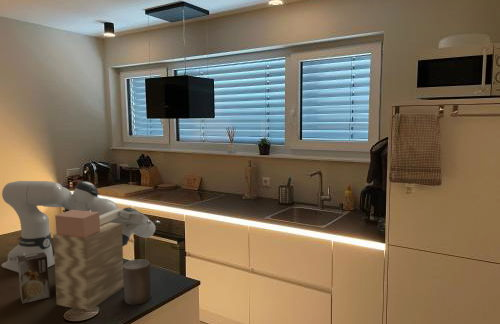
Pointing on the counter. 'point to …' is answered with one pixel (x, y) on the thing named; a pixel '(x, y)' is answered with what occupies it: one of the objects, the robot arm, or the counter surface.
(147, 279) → the pillar candle
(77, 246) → the oak pedestal
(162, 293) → the counter surface
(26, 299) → the coffee box
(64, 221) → the handled block
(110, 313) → the counter surface
